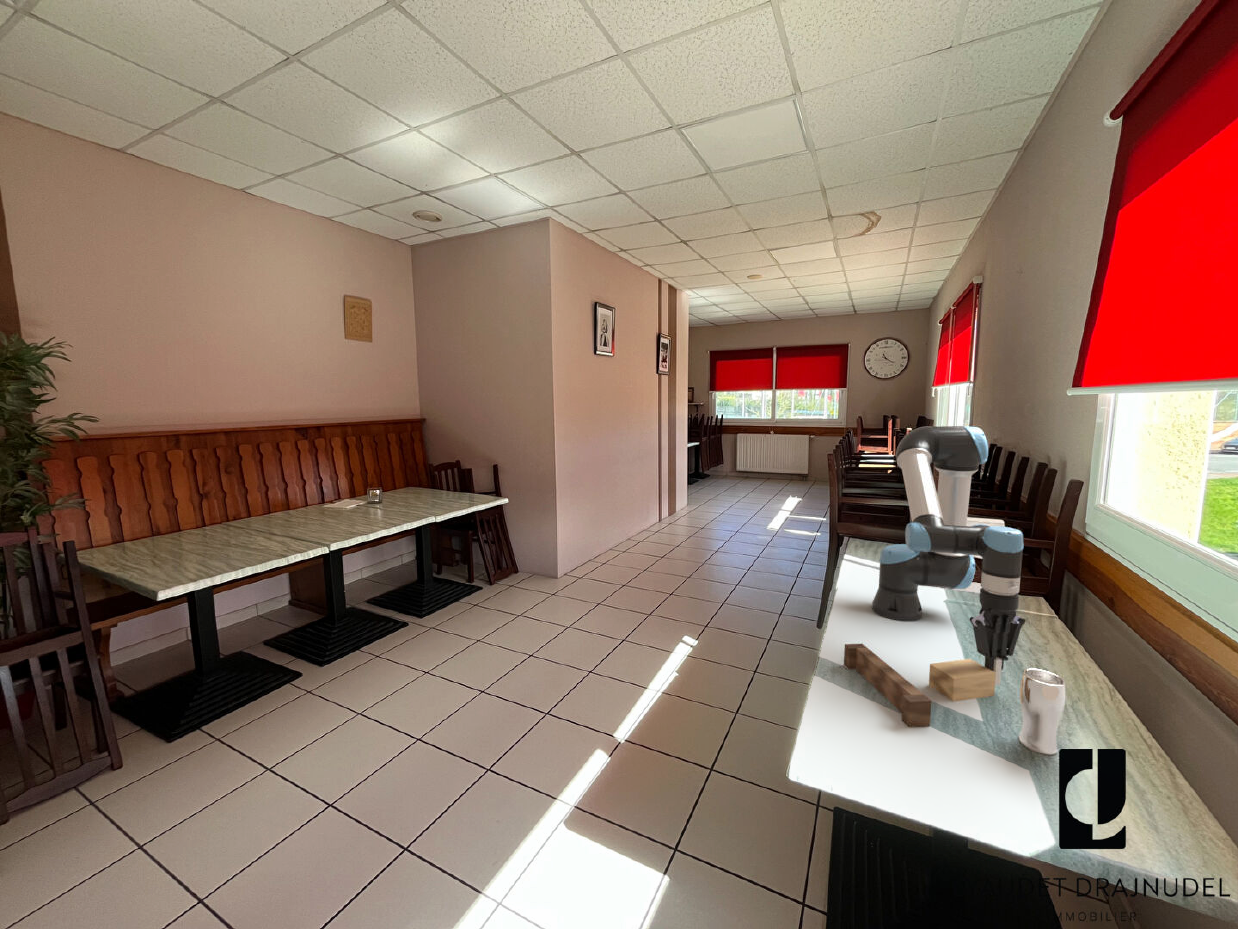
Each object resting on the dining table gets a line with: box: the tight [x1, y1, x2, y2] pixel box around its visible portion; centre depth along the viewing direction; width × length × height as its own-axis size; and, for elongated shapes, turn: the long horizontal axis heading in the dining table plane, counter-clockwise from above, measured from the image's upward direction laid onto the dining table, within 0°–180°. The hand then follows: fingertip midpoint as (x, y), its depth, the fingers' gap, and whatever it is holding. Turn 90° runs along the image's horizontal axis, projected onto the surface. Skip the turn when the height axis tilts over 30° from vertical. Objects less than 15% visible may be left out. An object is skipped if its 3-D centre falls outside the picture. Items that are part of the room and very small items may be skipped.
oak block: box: [928, 658, 996, 702], centre depth 121 cm, size 7×12×6 cm, turn 101°
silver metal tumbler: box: [1018, 668, 1066, 756], centre depth 101 cm, size 7×7×15 cm
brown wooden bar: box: [843, 643, 932, 728], centre depth 120 cm, size 27×5×6 cm, turn 4°
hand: (992, 682), depth 121 cm, fingers closed
